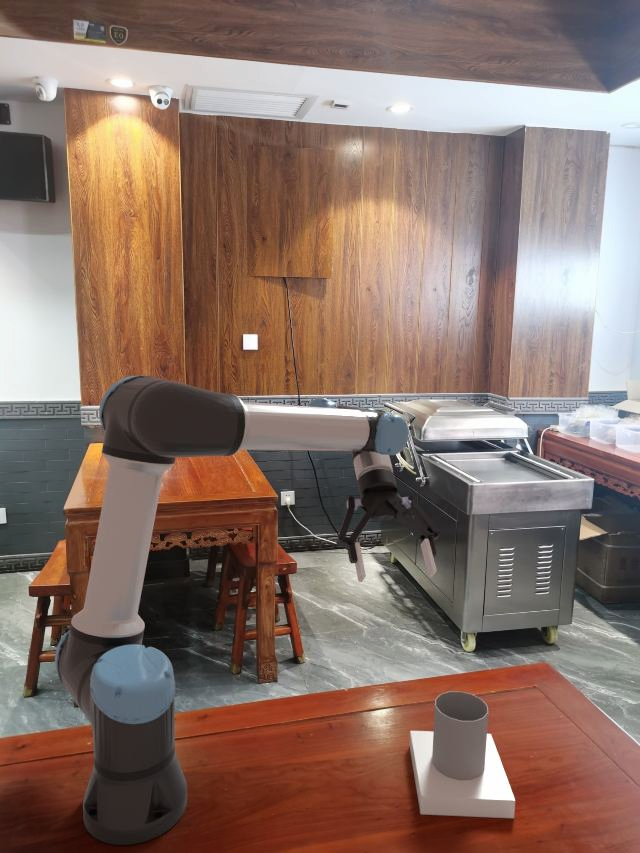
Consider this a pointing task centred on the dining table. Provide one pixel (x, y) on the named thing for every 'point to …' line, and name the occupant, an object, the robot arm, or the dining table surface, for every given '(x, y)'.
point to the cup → (460, 735)
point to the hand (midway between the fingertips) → (397, 576)
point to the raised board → (460, 784)
